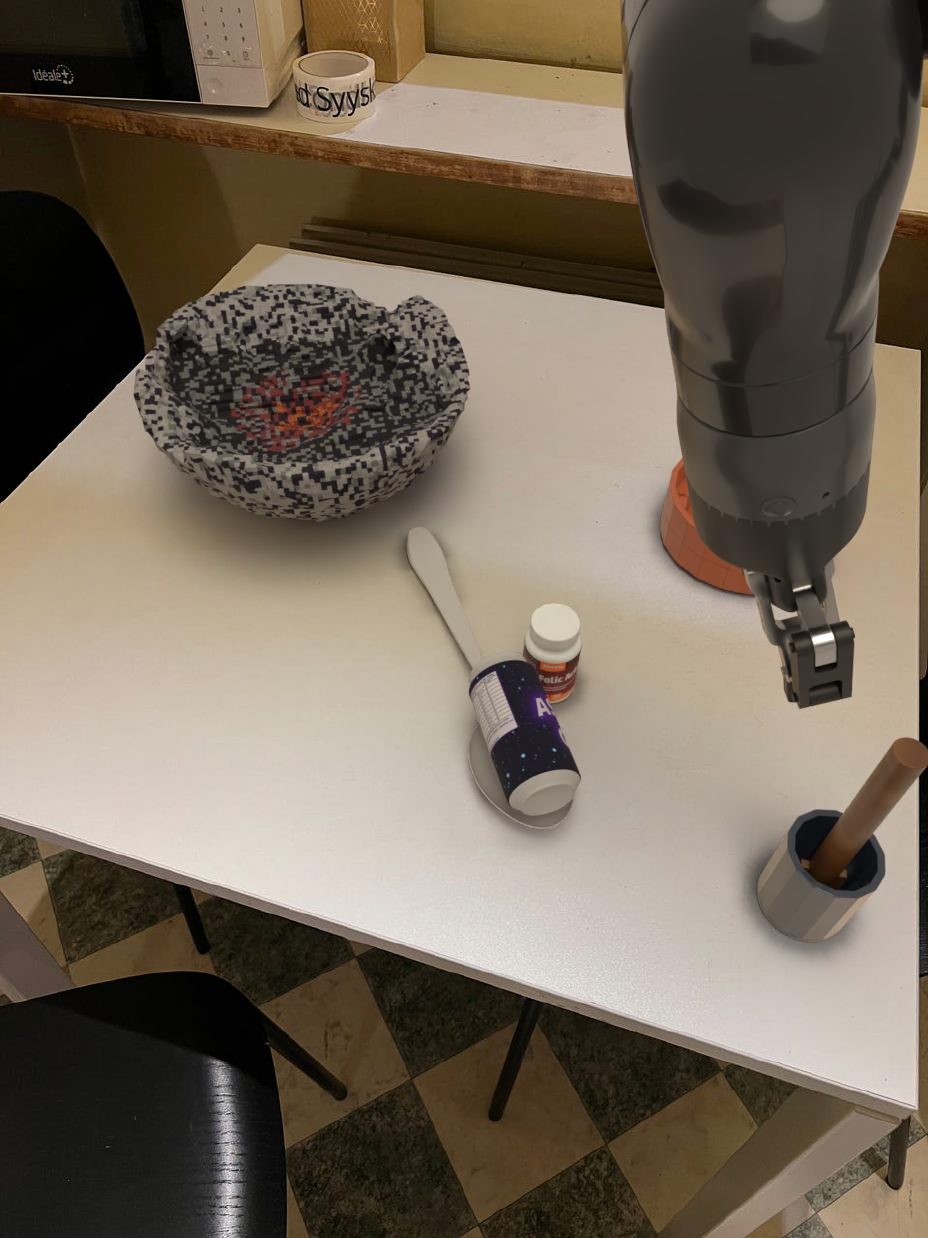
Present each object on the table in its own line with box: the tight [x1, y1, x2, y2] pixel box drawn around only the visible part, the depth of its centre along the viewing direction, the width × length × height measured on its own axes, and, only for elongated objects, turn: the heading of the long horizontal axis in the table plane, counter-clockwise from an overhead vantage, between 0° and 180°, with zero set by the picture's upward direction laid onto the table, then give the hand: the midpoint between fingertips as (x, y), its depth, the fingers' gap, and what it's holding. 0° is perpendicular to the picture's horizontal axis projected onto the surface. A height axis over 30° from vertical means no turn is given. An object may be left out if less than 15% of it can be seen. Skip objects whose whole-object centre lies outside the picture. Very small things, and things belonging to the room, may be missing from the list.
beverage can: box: [468, 651, 582, 816], centre depth 66 cm, size 6×6×12 cm
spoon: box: [406, 526, 576, 830], centre depth 76 cm, size 35×8×3 cm, turn 19°
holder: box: [756, 808, 886, 943], centre depth 60 cm, size 6×6×8 cm
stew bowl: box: [658, 457, 754, 596], centre depth 85 cm, size 16×16×6 cm
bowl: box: [133, 283, 471, 523], centre depth 87 cm, size 31×31×15 cm
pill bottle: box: [522, 602, 583, 704], centre depth 72 cm, size 5×5×8 cm
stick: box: [800, 736, 928, 890], centre depth 55 cm, size 3×2×20 cm, turn 74°
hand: (782, 627), depth 49 cm, fingers open, 8 cm apart
